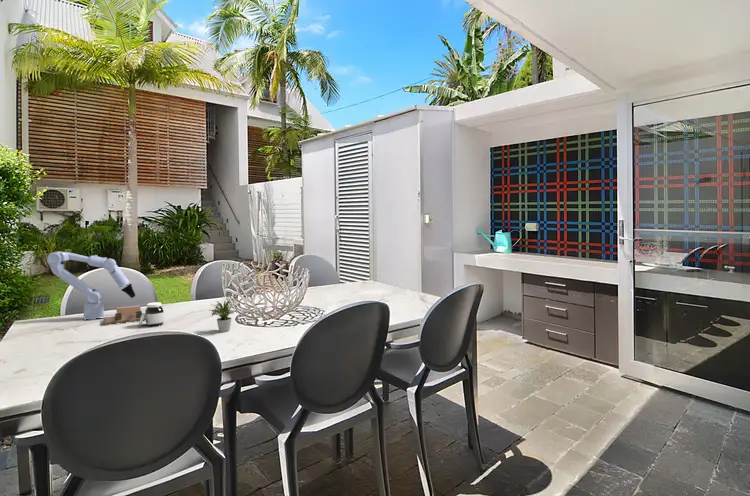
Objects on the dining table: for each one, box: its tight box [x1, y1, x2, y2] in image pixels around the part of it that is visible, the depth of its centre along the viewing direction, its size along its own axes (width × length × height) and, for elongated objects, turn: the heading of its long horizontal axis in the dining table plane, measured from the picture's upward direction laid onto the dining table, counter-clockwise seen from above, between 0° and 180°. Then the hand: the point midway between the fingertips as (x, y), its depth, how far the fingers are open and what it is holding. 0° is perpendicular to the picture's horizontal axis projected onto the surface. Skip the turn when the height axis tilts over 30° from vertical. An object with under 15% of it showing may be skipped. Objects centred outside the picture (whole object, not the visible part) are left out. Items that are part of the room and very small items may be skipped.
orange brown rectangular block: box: [116, 305, 142, 316], centre depth 246 cm, size 12×3×6 cm, turn 120°
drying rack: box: [102, 310, 146, 326], centre depth 236 cm, size 24×12×4 cm, turn 120°
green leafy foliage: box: [215, 296, 236, 315], centre depth 268 cm, size 34×5×10 cm
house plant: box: [208, 300, 233, 333], centre depth 215 cm, size 14×14×16 cm
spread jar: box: [137, 301, 165, 327], centre depth 225 cm, size 12×11×12 cm
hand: (133, 296), depth 248 cm, fingers open, 7 cm apart
